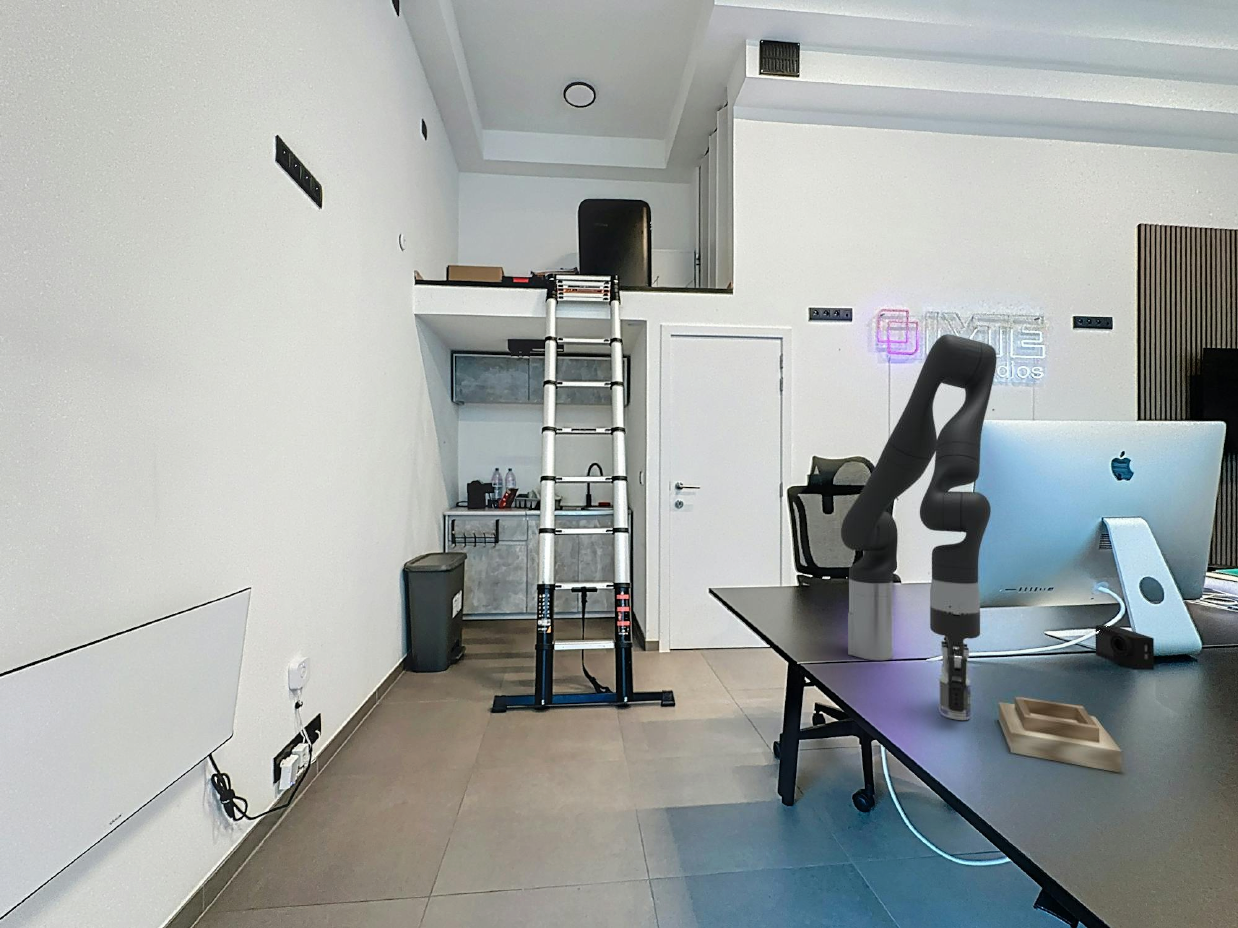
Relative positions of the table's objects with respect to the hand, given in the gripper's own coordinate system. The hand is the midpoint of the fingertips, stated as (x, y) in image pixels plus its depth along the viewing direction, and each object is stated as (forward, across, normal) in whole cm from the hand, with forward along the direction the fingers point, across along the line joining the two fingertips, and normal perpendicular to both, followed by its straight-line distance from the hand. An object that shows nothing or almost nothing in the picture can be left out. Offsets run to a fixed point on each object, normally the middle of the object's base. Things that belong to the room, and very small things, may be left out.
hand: (954, 704), depth 100 cm
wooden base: (+2, +5, +13) cm, 14 cm away
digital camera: (+2, -50, +35) cm, 62 cm away
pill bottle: (+2, 0, 0) cm, 2 cm away
